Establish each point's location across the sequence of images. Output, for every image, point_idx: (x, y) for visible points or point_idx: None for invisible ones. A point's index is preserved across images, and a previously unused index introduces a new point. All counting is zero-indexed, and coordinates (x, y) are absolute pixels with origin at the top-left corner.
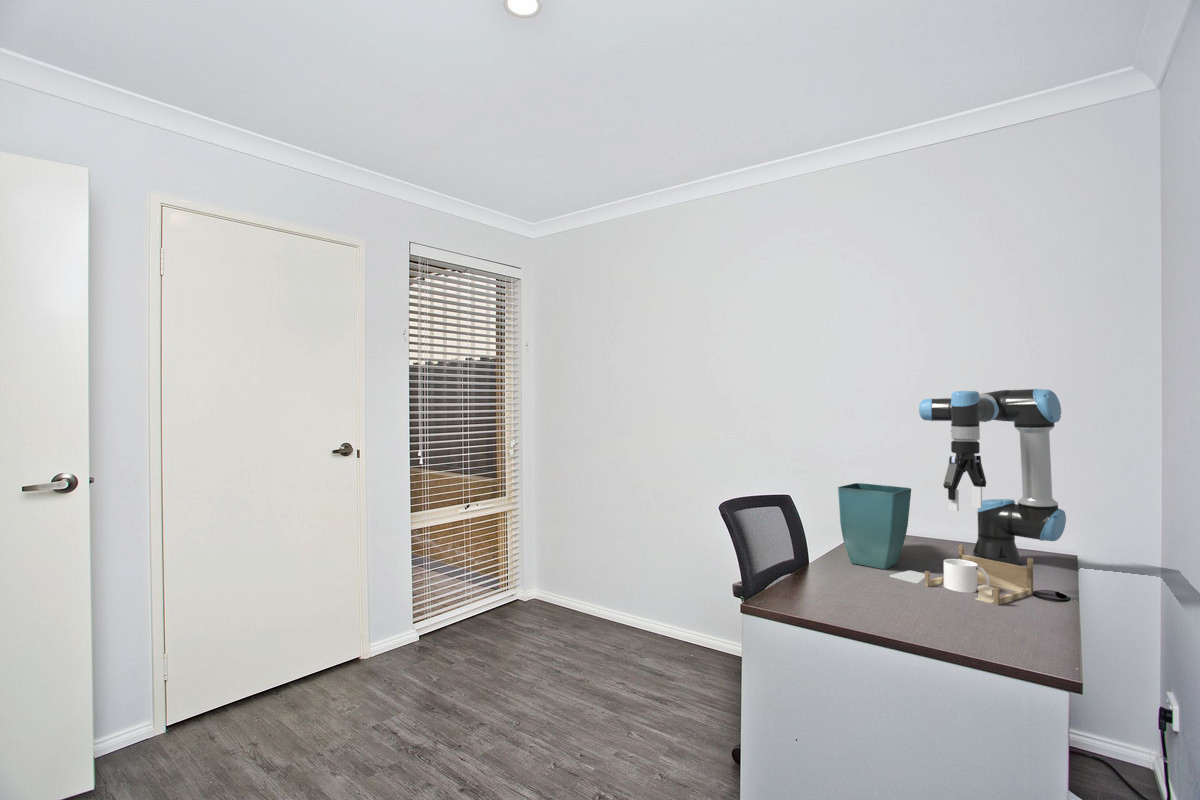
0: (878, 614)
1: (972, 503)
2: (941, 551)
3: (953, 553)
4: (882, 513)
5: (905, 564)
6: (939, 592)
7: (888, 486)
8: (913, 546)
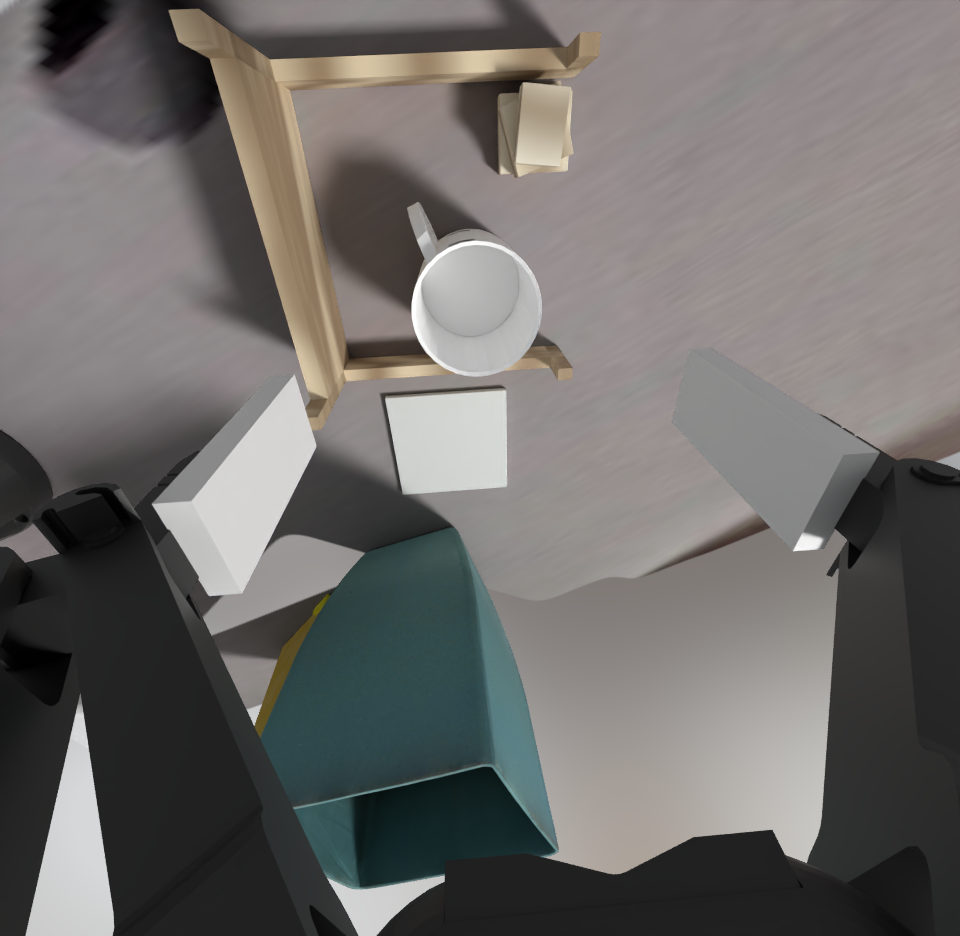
0: (915, 267)
1: (305, 457)
2: None
3: None
4: (495, 679)
5: (343, 540)
6: None
7: None
8: None
